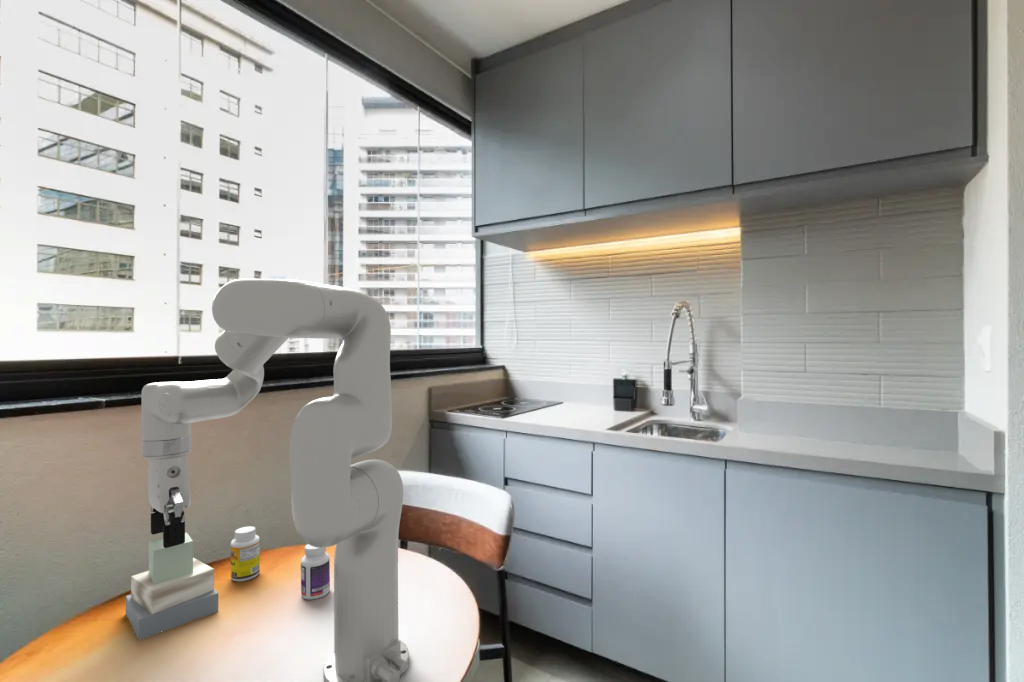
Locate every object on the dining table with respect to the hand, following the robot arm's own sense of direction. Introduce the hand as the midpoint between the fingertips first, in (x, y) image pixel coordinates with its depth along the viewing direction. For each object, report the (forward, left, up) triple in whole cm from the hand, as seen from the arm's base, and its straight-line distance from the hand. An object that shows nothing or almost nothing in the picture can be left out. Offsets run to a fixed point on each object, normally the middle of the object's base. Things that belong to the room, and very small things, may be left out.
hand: (167, 538), depth 89 cm
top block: (0, -1, -11) cm, 11 cm away
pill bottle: (-14, -22, -14) cm, 30 cm away
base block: (0, -1, -15) cm, 15 cm away
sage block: (0, 0, -7) cm, 7 cm away
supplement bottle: (+5, -15, -14) cm, 21 cm away
